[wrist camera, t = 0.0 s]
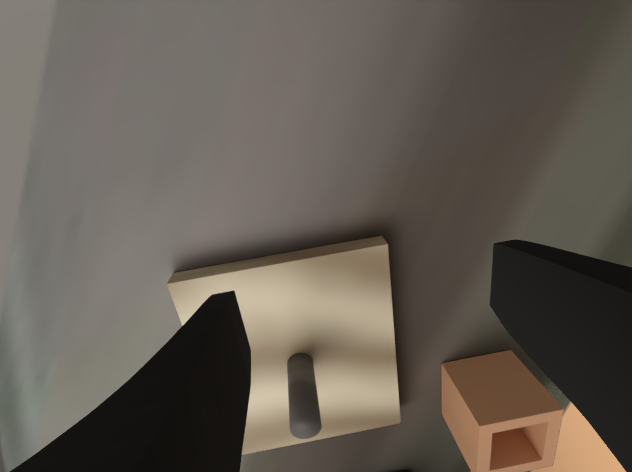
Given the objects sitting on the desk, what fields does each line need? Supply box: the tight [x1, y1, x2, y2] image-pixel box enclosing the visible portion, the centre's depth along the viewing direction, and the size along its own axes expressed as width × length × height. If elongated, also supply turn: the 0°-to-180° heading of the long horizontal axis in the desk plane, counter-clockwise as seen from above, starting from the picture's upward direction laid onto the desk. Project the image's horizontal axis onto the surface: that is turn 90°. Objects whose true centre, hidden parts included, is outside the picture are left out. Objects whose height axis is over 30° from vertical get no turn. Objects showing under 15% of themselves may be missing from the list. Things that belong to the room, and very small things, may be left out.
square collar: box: [442, 350, 564, 472], centre depth 23 cm, size 5×5×5 cm
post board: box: [167, 236, 401, 455], centre depth 20 cm, size 14×12×6 cm
